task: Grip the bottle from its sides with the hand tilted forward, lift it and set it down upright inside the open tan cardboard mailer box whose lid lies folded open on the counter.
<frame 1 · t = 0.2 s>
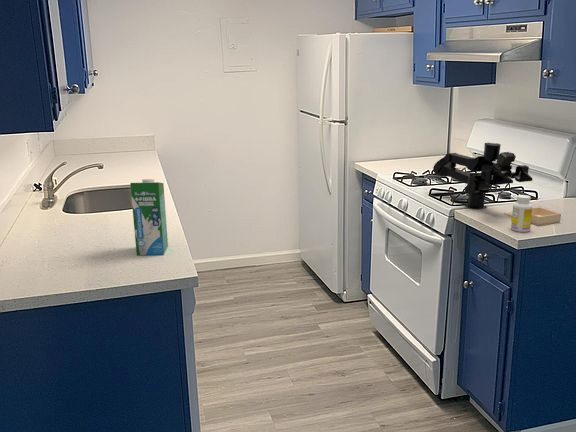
hand: (522, 180, 220), 17 cm above the worktop, tool horizontal, fingers open, 9 cm apart
supplement bottle: (520, 230, 217), on the worktop
mailer box: (538, 220, 228), on the worktop
milk carton: (152, 251, 199), on the worktop
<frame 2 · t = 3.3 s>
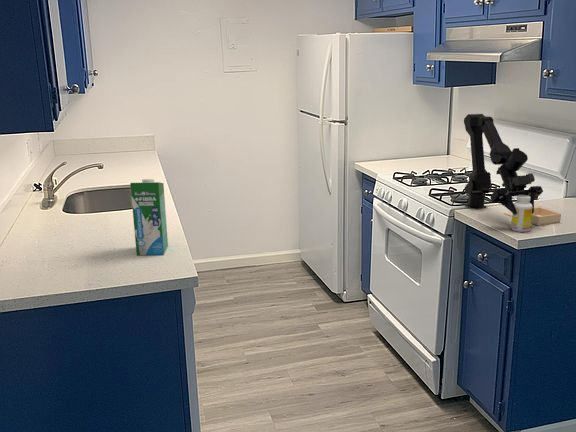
hand: (524, 213, 214), 7 cm above the worktop, tool tilted 45°, fingers closed on supplement bottle, 7 cm apart
supplement bottle: (520, 230, 217), on the worktop, touching gripper
everything else where it was.
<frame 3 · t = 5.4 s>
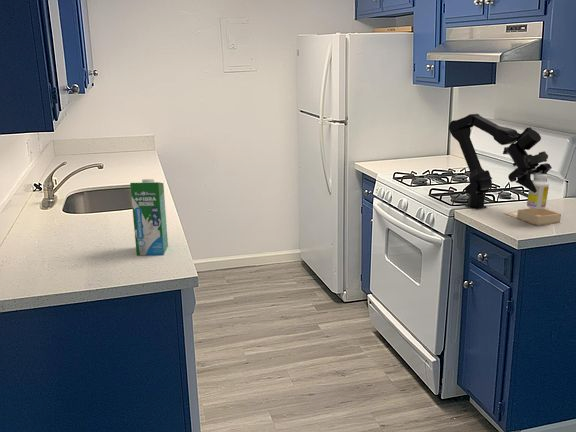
hand: (541, 190, 219), 13 cm above the worktop, tool tilted 45°, fingers closed on supplement bottle, 7 cm apart
supplement bottle: (535, 208, 222), point 6 cm above the worktop, touching gripper
everything else where it was.
when the fingers open (9 cm above the worktop, at t = 7.4 s): supplement bottle drops 1 cm, resting on mailer box.
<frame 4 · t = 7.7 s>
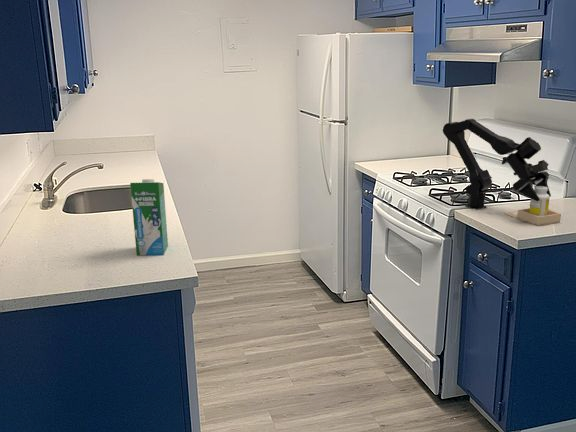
hand: (544, 198, 224), 9 cm above the worktop, tool tilted 45°, fingers open, 9 cm apart
supplement bottle: (537, 219, 228), resting on mailer box
everything else where it was.
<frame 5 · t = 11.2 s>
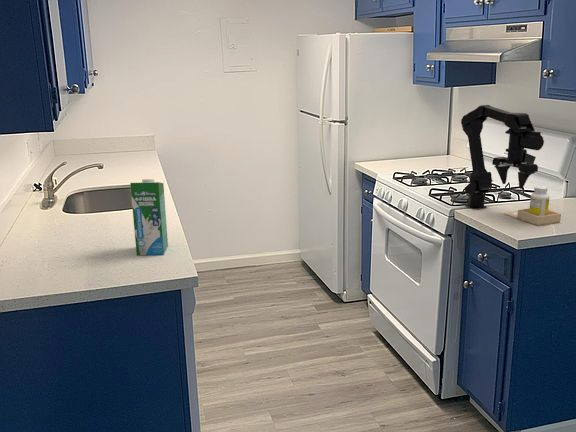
hand: (512, 186, 228), 13 cm above the worktop, tool pointing down, fingers open, 9 cm apart
nothing on the worktop moved.
at the end: supplement bottle inside the target area on the mailer box (0.4 cm from its centre), point 0.3 cm above the mailer box's base; supplement bottle tilted 0°; the gripper is holding nothing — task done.
